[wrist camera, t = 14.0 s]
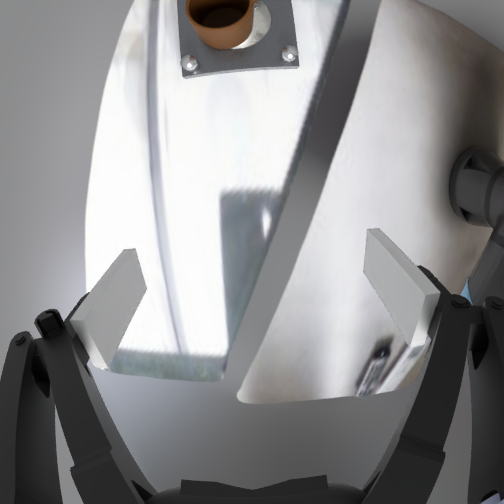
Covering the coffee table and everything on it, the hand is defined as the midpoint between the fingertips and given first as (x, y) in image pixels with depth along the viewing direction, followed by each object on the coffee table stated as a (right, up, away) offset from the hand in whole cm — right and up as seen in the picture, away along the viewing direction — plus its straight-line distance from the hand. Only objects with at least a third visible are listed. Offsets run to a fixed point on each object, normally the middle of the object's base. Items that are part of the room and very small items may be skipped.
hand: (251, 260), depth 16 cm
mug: (-2, +32, +14) cm, 35 cm away
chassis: (-2, +33, +16) cm, 37 cm away
